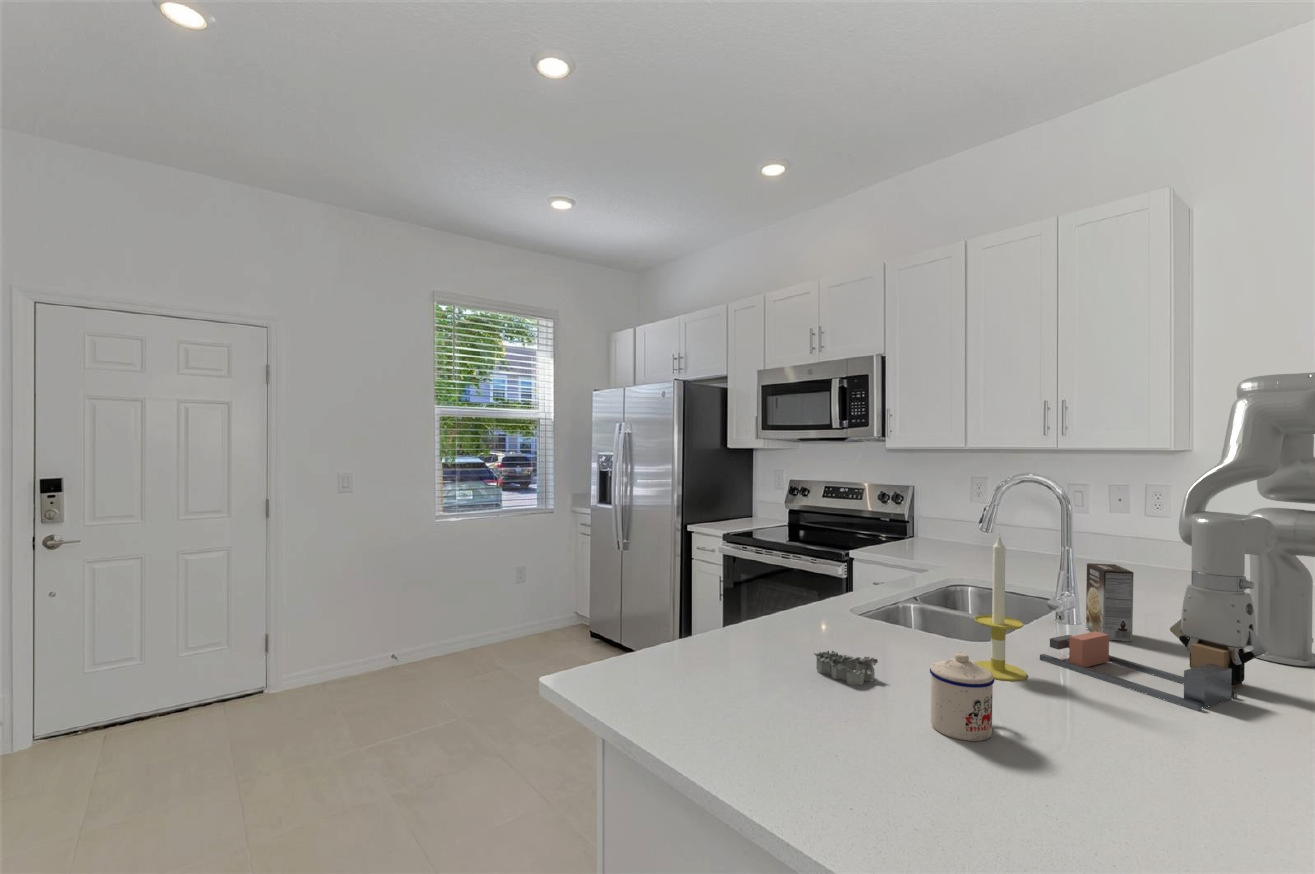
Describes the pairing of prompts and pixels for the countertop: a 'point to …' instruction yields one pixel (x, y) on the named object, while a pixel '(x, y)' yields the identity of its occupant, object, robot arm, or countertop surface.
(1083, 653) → the block
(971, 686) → the teacup with lid
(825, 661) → the egg carton
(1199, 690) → the vise bed
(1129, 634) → the coffee box
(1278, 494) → the robot arm
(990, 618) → the candle
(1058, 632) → the countertop surface
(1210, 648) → the block
